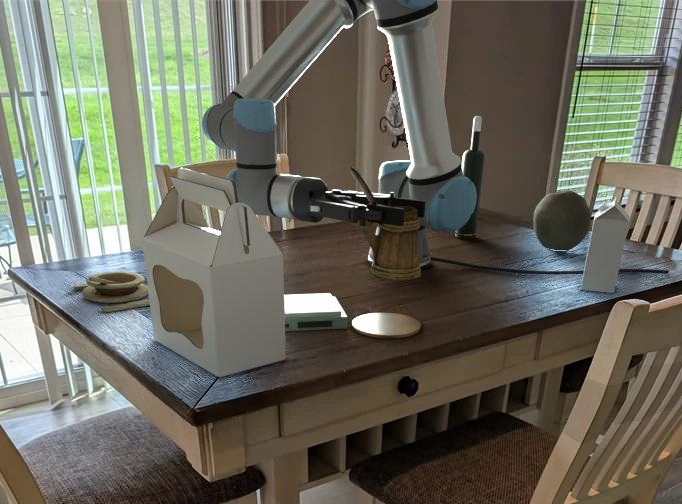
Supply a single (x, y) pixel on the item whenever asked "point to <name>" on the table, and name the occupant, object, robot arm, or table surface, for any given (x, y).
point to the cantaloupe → (561, 220)
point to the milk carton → (605, 248)
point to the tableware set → (115, 289)
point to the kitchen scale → (313, 312)
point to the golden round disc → (386, 325)
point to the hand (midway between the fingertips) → (413, 213)
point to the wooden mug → (393, 242)
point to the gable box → (214, 279)
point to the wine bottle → (473, 177)
